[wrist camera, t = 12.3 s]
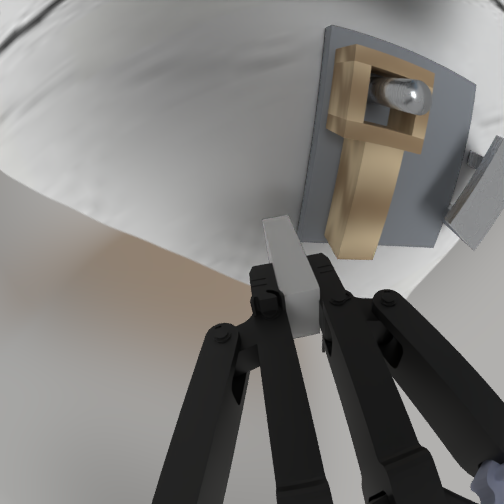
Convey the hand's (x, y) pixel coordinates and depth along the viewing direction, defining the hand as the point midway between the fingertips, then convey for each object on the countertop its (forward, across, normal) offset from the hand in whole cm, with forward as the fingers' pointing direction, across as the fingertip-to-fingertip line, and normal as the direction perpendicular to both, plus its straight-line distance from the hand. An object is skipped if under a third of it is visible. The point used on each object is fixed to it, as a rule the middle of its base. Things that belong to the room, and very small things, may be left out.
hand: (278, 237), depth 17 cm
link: (+8, +9, +2) cm, 12 cm away
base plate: (+10, +14, +2) cm, 17 cm away
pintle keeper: (+10, +17, +1) cm, 19 cm away
